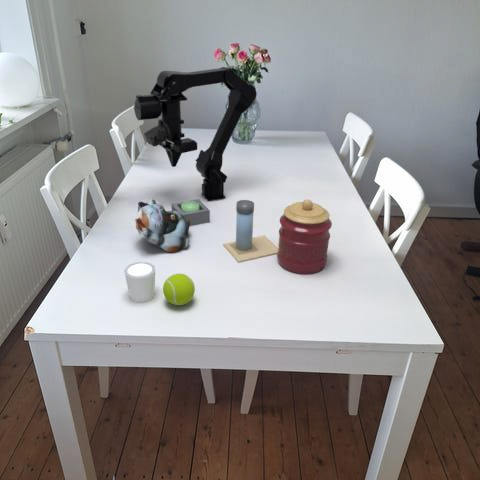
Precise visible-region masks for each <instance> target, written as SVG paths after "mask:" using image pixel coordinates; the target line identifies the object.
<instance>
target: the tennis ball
mask: <svg viewBox="0 0 480 480" xmlns="http://www.w3.org/2000/svg"><path fill="white" fill-rule="evenodd" d="M195 289H196V287H195V283H194V281H193V279H192V278H190V277H189V275H187V274H185V273H175V274H174V273H173V274H172V275H171V276H168V277H167V278H166V280H164V282H163V286H162V293H163V296H164V298H165V300H166V301H167V302H168V303H170V304H172V305H175V306H183V305H187V304H188V303H189V302H190V301H191V300H192V299H193V298H194V295H195V291H196V290H195Z"/></svg>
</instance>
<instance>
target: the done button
mask: <svg viewBox="0 0 480 480" xmlns="http://www.w3.org/2000/svg"><path fill="white" fill-rule="evenodd" d="M182 202H183V203H182V204H181V210H182V211H183V212H184V213H186V212H192V211H197V210H199V203H198V202H195V201H190V200H186V202H184V201H182Z"/></svg>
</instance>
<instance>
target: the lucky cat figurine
mask: <svg viewBox="0 0 480 480" xmlns="http://www.w3.org/2000/svg"><path fill="white" fill-rule="evenodd" d="M137 205H138V207H137V214H136V216H135V219H134V221H135V228H136V230H137V233H138V235H140V236H141V237H142V238H143V239H144V240H146V241H147V242H148V243H149V244H152V245H154V246H155V247H159V248H160V249H162V250H164V251H166V252H168V253H171V254H173V253H176V252H181V251H182V250H184V249H187V248H188V246H189V244H190V237H189V232H190V227H191V226H190V220H188V219H185V218H184V217H183V215H182V214H181V213H180V212H178V211H172V210H166V209H165V208H164V206H163V205H162V204H159V203H156V200H155V199H153V198H151V199H149V201H148V202H143V201H138V202H137Z"/></svg>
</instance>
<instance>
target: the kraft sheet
mask: <svg viewBox="0 0 480 480" xmlns="http://www.w3.org/2000/svg"><path fill="white" fill-rule="evenodd" d="M222 246H223V247H224V248H225V249H226V251H228V253H229V254H230V256H232V257H233V258H234V259H235V261H236V262H237V263H239V264H240V263H242V262H247V261H251V260H252V261H253V260H256V259H261V258H265V257H269V256H273V255H274V256H275V255H277V251H278V247H279V246H277V245H276V244H275V243H274V242H272V241H271V239H269V238H268V237H267V236H266V235H265V234H264V235H260V236H254V237H252V249H251V250H248V251H240V250H238V249H237V248H236V240H235V241H230V242H226V243H225V242H224V243H222Z"/></svg>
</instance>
